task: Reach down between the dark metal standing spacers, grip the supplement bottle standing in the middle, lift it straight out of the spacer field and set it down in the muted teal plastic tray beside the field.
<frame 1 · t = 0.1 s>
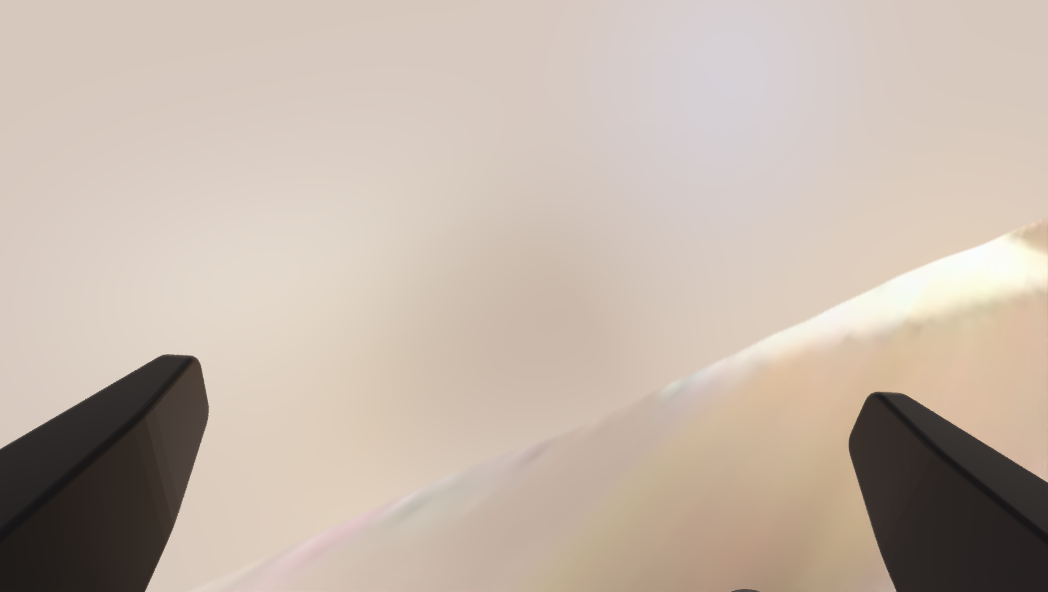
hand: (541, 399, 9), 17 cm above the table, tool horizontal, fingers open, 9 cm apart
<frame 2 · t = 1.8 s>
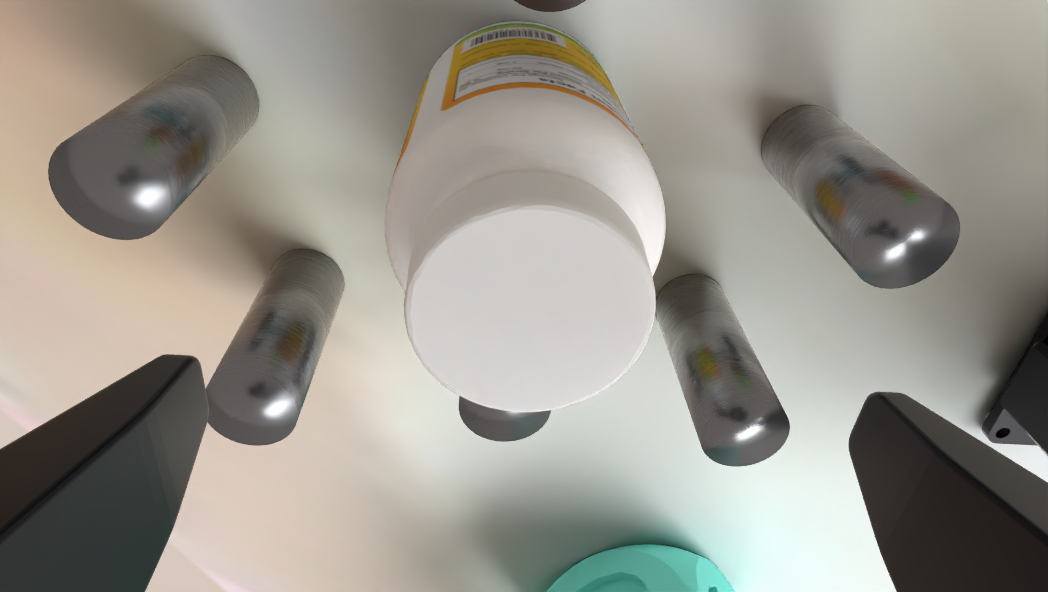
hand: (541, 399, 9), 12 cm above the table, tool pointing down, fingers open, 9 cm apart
supplement bottle: (517, 118, 19), on the table
spacer field: (517, 121, 19), on the table
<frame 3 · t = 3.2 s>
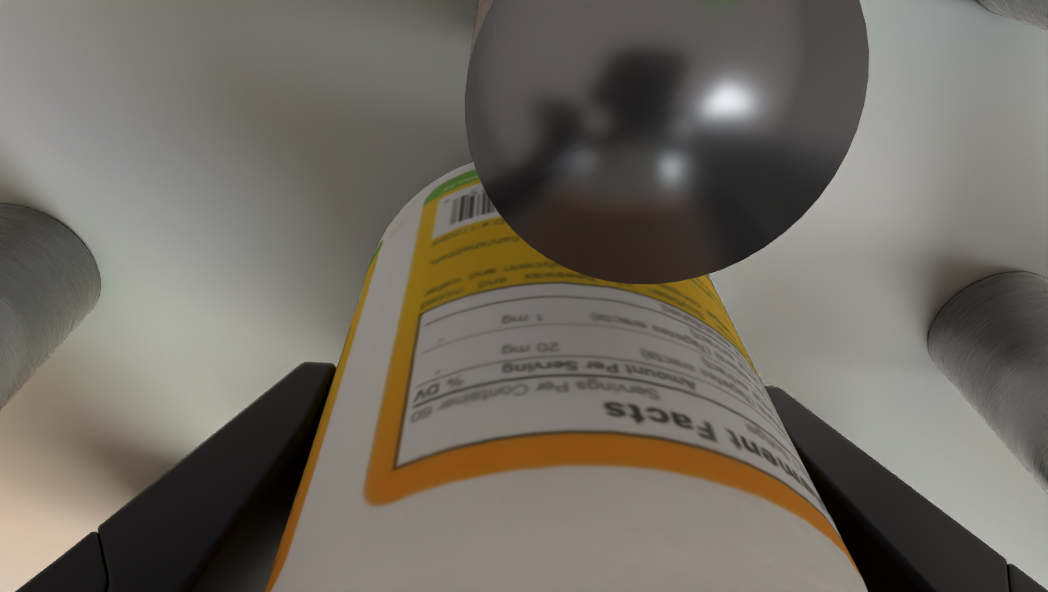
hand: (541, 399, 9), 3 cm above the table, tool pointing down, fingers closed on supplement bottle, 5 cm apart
supplement bottle: (533, 292, 12), on the table, touching gripper
spacer field: (533, 298, 12), on the table
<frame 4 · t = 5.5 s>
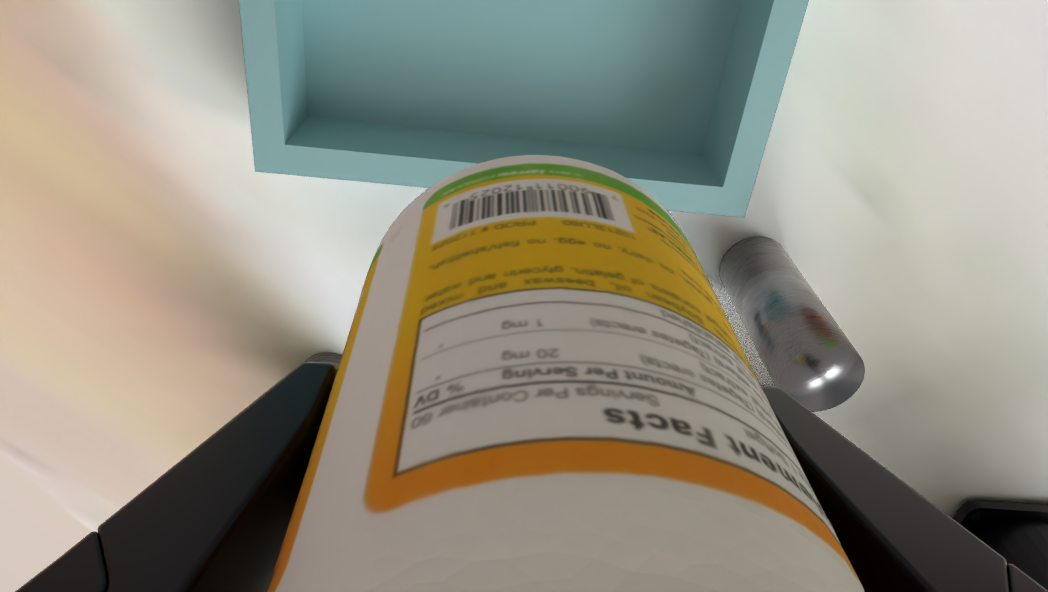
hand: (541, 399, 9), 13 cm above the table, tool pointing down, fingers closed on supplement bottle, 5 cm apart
supplement bottle: (532, 295, 12), point 10 cm above the table, touching gripper
spacer field: (550, 393, 26), on the table
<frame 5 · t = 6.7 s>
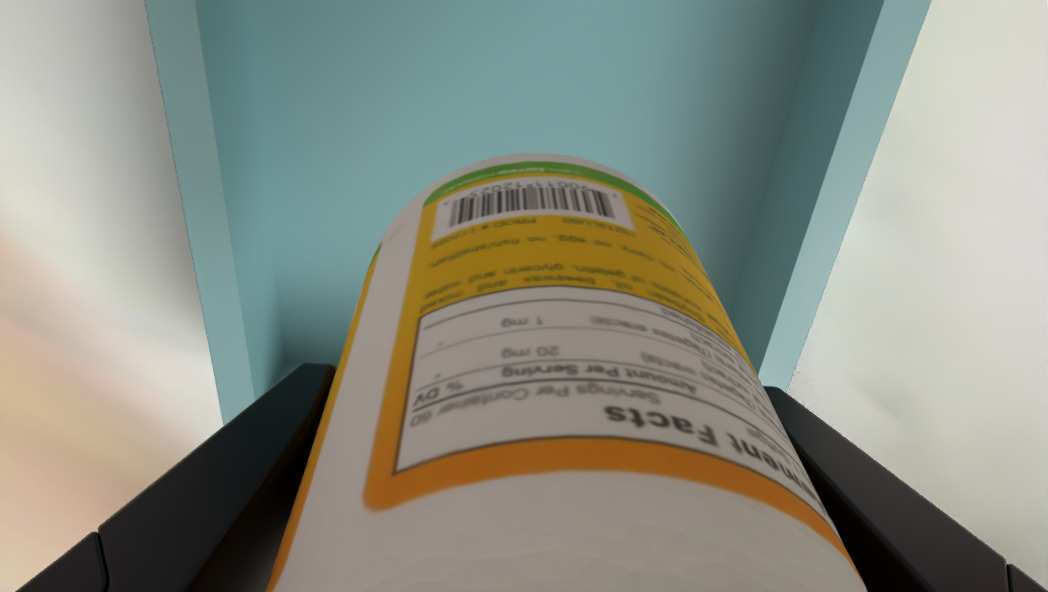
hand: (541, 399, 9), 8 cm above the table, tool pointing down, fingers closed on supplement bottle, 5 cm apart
supplement bottle: (532, 293, 12), point 5 cm above the table, touching gripper
teal tray: (519, 163, 16), on the table
when the fingers open (4 cm above the table, at t = 7.8 s): supplement bottle drops 1 cm, resting on teal tray.
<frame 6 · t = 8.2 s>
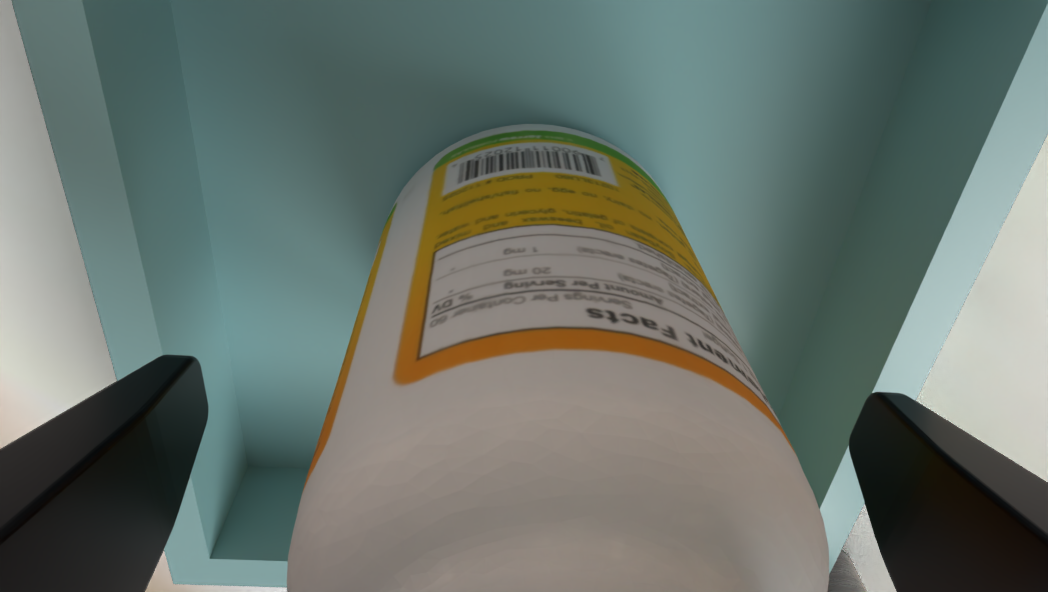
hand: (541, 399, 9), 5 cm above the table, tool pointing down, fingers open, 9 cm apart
supplement bottle: (530, 254, 13), resting on teal tray
teal tray: (528, 239, 13), on the table
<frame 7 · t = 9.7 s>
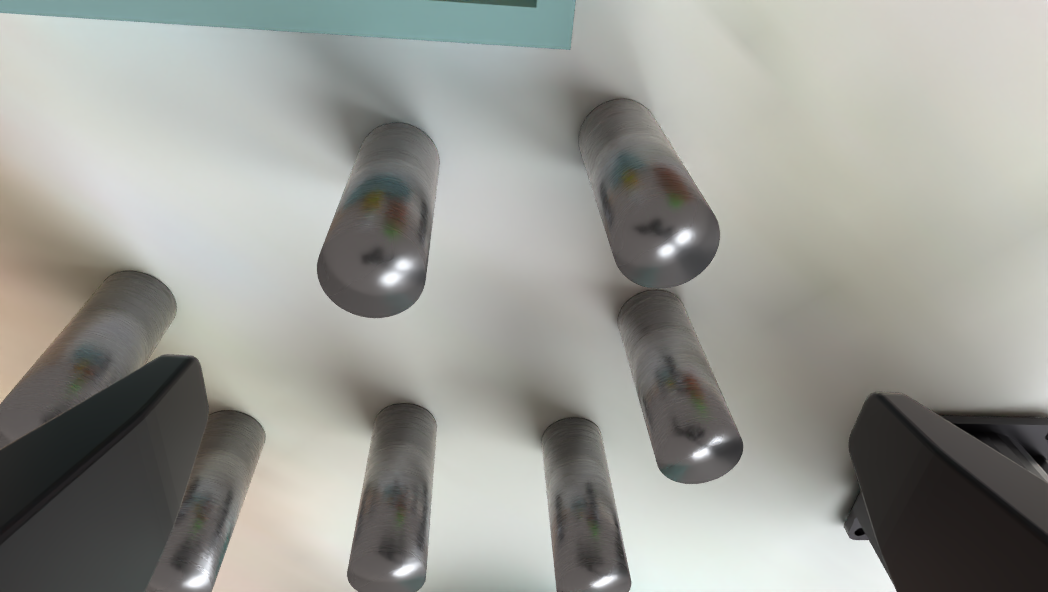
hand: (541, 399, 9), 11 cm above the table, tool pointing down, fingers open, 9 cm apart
spacer field: (403, 310, 22), on the table
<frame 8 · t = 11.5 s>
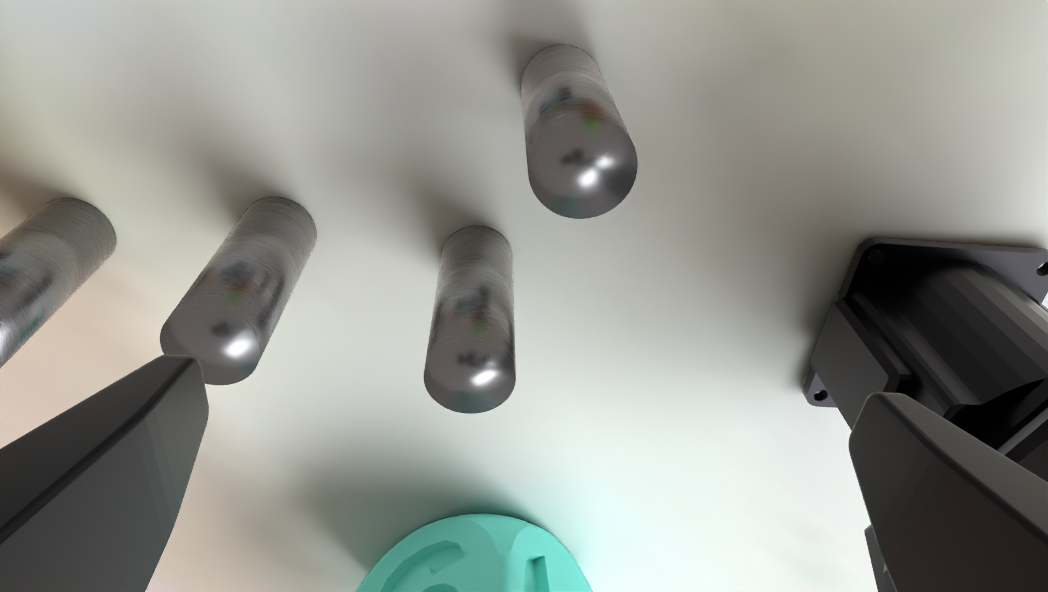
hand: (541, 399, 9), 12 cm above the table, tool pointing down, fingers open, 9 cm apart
decorative dice: (480, 569, 30), on the table
spacer field: (262, 61, 19), on the table
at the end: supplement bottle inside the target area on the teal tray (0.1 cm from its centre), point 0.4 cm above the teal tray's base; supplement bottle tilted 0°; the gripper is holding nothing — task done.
